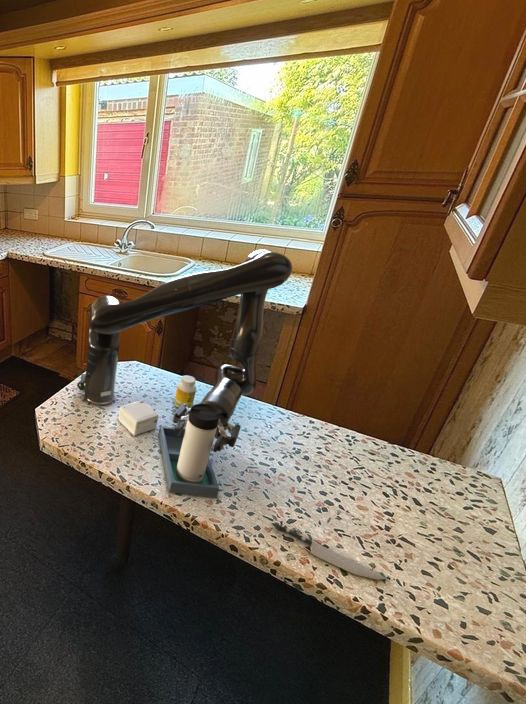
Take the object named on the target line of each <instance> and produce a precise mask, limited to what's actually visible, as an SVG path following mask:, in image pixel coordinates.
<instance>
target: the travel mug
mask: <svg viewBox="0 0 526 704" xmlns="http://www.w3.org/2000/svg"><path fill="white" fill-rule="evenodd" d="M190 409H191V410H190V413H189V414H188V415H189V417H188V421H186V422H187V425H186V427H185V428H184V429H185V434H184V438H183V442H182V447H181V451H180V456H179V460H178V464H177V469H176V474H177V476H178V478H179V479H180V480H181V481H183V482H188V483H197V484H200V483H201V482H202V481H203V478H204V474H205V470H206V467H207V463H208V459H210V455H211V451H212V449H213V444H214V441H215V434H216V430H217V426H218V422H219V418H220V415H221V416H222V411H221V409H217V408H216V407H214V406H212V405H209V404H200V403H196V404H193V405H192V407H191V408H190Z"/></svg>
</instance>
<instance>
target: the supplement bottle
mask: <svg viewBox="0 0 526 704" xmlns="http://www.w3.org/2000/svg"><path fill="white" fill-rule="evenodd" d="M196 382H197V381H196V378H195V377H194V376H191V375H188V374H187V375H182V376H181V379H180V381H179V382H178V383H177V388H176V392H175V395H174V396H175V397H174V400H173V401H174V405H175V406H176V407H177V408H178V409H179V408H180V407H181V406H182V405H183V404H187V405H188V406H187V408H189V409H191V407H192V406H194V401H195V396H196V393H197V392H196V391H197V386H196Z"/></svg>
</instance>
